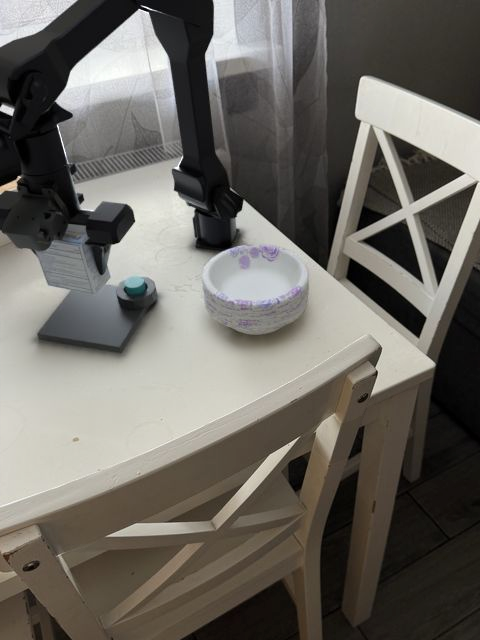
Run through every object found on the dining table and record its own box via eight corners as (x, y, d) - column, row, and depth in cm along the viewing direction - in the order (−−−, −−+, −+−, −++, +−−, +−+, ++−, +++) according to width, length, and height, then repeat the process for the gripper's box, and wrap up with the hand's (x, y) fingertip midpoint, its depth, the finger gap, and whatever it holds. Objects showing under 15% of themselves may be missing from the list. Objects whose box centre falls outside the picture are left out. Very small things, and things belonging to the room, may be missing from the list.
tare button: (149, 285, 91) (147, 277, 90) (141, 297, 89) (139, 289, 88) (130, 282, 91) (129, 274, 90) (122, 294, 89) (120, 286, 88)
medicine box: (111, 278, 85) (98, 225, 79) (95, 297, 82) (80, 244, 76) (64, 268, 87) (47, 217, 81) (47, 286, 84) (28, 234, 78)
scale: (163, 294, 93) (161, 279, 91) (127, 354, 84) (123, 338, 82) (83, 282, 96) (78, 267, 94) (39, 339, 86) (33, 324, 84)
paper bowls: (281, 273, 96) (281, 231, 91) (326, 330, 86) (328, 286, 81) (192, 299, 92) (186, 256, 87) (228, 361, 82) (224, 317, 77)
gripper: (-65, 189, 68) (-16, 296, 79) (82, 206, 65) (112, 316, 75) (-10, 147, 76) (28, 249, 87) (125, 160, 72) (146, 265, 83)
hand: (75, 269), depth 83 cm, fingers closed on medicine box, 8 cm apart
